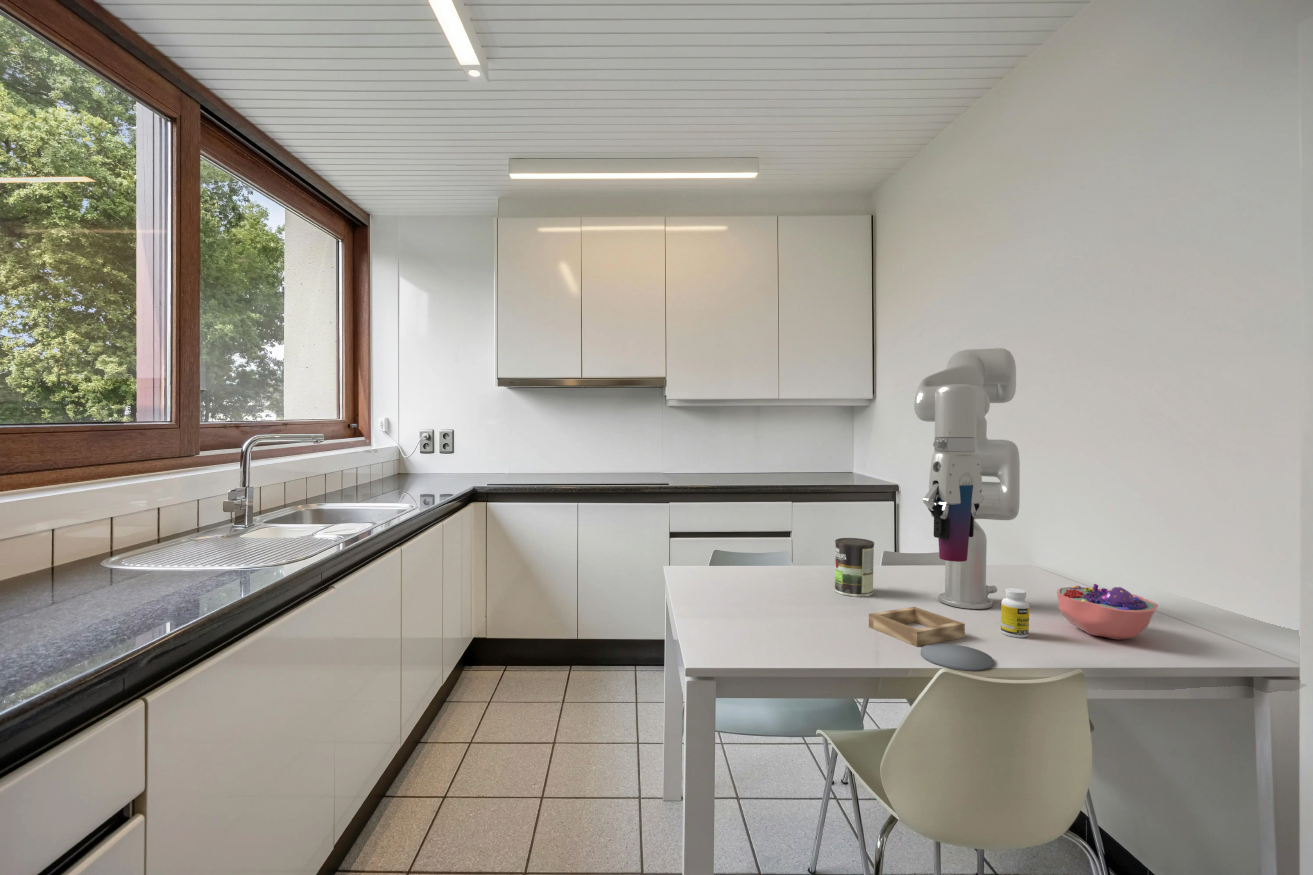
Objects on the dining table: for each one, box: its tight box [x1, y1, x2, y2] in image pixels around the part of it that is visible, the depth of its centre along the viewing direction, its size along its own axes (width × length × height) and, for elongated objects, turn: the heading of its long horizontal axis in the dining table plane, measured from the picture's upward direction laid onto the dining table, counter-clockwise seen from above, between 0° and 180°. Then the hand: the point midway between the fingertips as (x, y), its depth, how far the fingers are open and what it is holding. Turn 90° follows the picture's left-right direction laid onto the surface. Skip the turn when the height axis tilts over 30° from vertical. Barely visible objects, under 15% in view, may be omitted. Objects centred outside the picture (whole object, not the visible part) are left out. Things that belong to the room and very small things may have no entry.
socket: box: [868, 606, 966, 647], centre depth 143 cm, size 14×14×3 cm
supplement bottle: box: [1000, 587, 1030, 639], centre depth 142 cm, size 5×5×10 cm
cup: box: [937, 485, 973, 562], centre depth 128 cm, size 7×7×15 cm
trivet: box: [920, 643, 994, 672], centre depth 127 cm, size 13×13×1 cm
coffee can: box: [834, 537, 875, 598], centre depth 176 cm, size 10×10×14 cm
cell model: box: [1056, 583, 1159, 641], centre depth 142 cm, size 17×20×11 cm
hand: (953, 536), depth 128 cm, fingers closed on cup, 6 cm apart
